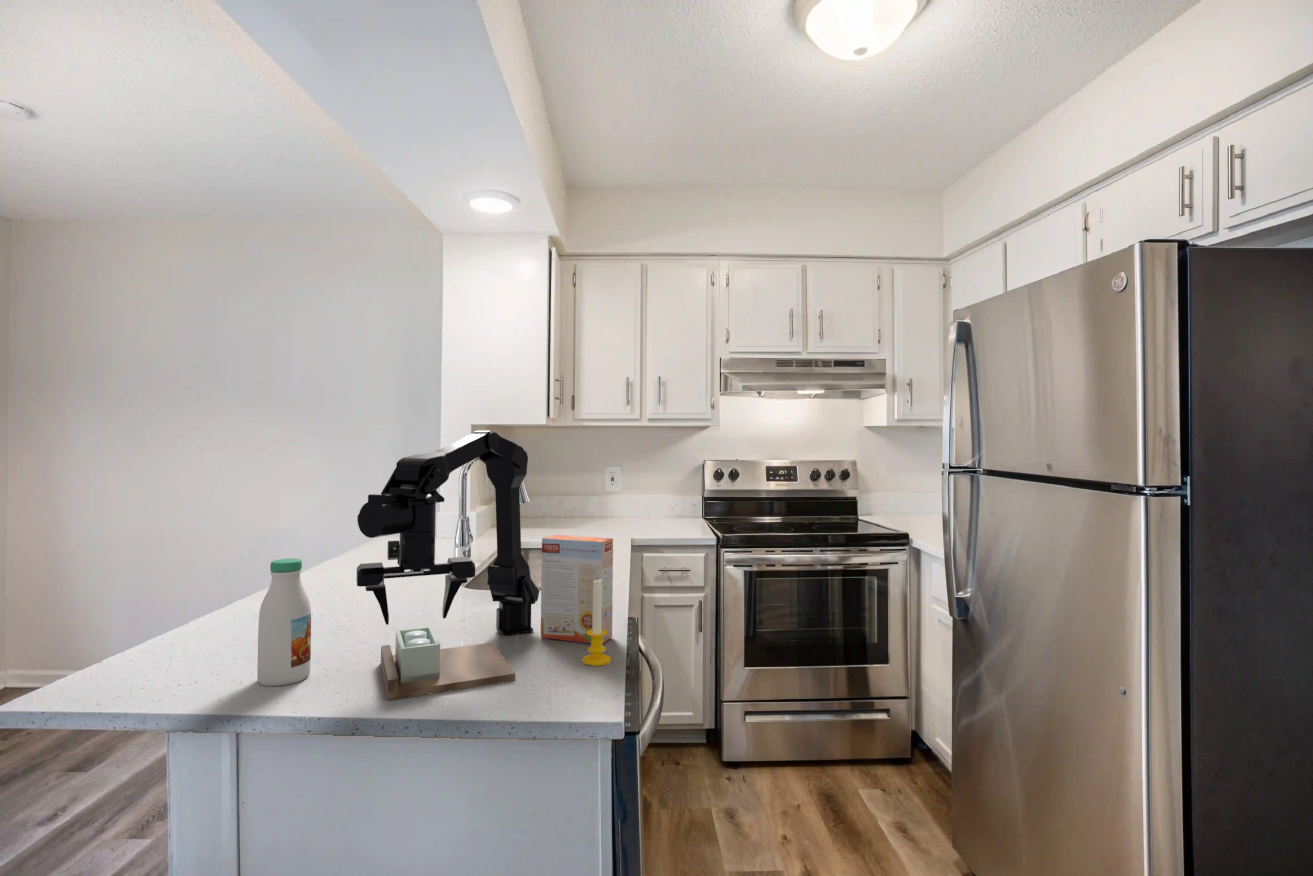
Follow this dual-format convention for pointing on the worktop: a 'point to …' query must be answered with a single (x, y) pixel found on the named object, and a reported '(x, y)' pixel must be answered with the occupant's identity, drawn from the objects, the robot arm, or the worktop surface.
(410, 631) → the pale green crate
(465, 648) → the walnut shelf
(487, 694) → the worktop surface
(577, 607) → the cracker box
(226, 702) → the worktop surface
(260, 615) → the milk bottle
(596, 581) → the candle
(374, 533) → the robot arm
